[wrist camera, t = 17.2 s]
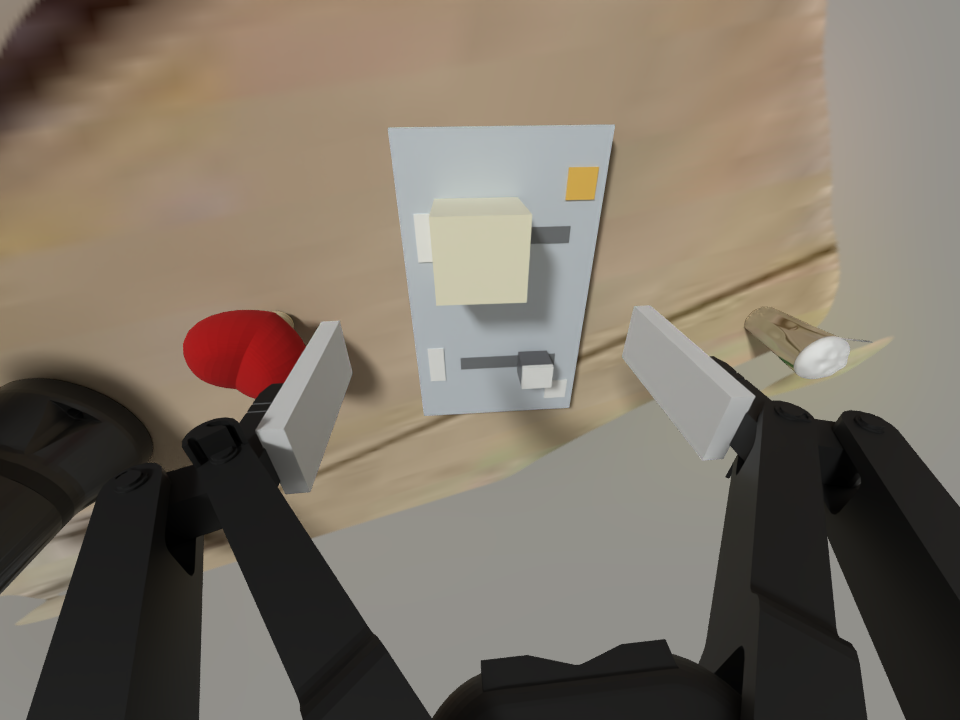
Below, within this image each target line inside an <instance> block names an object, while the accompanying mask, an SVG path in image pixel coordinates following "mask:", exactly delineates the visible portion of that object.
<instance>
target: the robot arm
mask: <svg viewBox="0 0 960 720" xmlns="http://www.w3.org/2000/svg"><path fill="white" fill-rule="evenodd" d="M622 358H623V359H624V361H625V362H626V363H627V364H628V366H629V367H630V368H631V370H632V371H633V372H634V373H635V375H636V376H637V377H638V379H639V380H640V381H641V382H642V384H643V385H644V386H645V388H646V389H647V390H648V391H649V393H650V394H651V395H652V397H653V398H654V399H655V400H656V402H657V403H658V404H659V406H660V407H661V408H662V409H663V411H664V412H665V413H666V415H667V416H668V417H669V418H670V420H671V421H672V422H673V423H674V425H675V426H676V427H677V429H678V430H679V431H680V433H682V435H683V436H684V438H685V439H686V440H687V442H688V443H689V444H690V445H691V447H692V448H693V449H694V451H695V452H696V453H697V454H698V456H699V457H700V458H701V459H702V460H714V459H723V458H724V456H725V454H726V453H727V451H728V449H729V447H730V446H731V447H732V448H733V449H734V450H735V452H736V453H737V454H738V455H737V456H736V458H735V460H734V462H733V464H732V466H731V468H730V469H729V471H728V473H727V475H726V478H730V476H731V482H730V488H729V495H728V502H727V508H726V515H725V521H724V528H723V535H722V541H721V548H720V554H719V560H718V567H717V574H716V580H715V587H714V593H713V600H712V607H711V613H710V619H709V626H708V633H707V639H706V644H705V648H704V651H703V654H702V656H701V659H700V661H699V664H697V663H695V662H693V661H691V660H689V659H686V658H683V657H680V656H677V655H674V654H672V653H671V651H670V649H669V646H668V644H667V642H666V640H665V639H663V640H654V641H645V642H637V643H628V644H621V645H619V646H617V647H615V648H613V649H611V650H609V651H607V652H605V653H603V654H601V655H599V656H597V657H595V658H593V659H591V660H589V661H587V662H585V663H583V664H580V665H573V664H568V663H563V662H558V661H553V660H548V659H544V658H539V657H534V656H529V655H524V656H516V657H507V658H498V659H490V660H481V674H479V675H477V676H475V677H473V678H471V679H469V680H468V681H466V682H465V683H464V684H462V685H460V687H458V688H457V689H456V690H455V691H454V692H453V693H452V694H450V695H449V697H448V698H447V699H446V700H445V701H444V702H443V704H442V705H441V706H440V707H439V709H438V711H437V712H436V714H435V715H434V716H433V718H431V716H430V715H429V714H428V712H427V711H426V709H425V707H424V706H423V704H422V703H421V701H420V700H419V698H418V697H417V695H416V694H415V692H414V691H413V689H412V688H411V686H410V685H409V683H408V681H407V680H406V679H405V677H404V675H403V674H402V672H401V671H400V669H399V668H398V666H397V665H396V663H395V662H394V660H393V659H392V657H391V656H390V654H389V653H388V651H387V650H386V648H385V647H384V645H383V644H382V642H381V641H380V640H379V638H378V637H377V636H376V635H375V634H373V633H372V631H371V630H370V629H369V627H368V626H367V624H366V623H365V621H364V620H363V618H362V616H361V615H360V613H359V612H358V610H357V609H356V607H355V606H354V604H353V603H352V601H351V600H350V598H349V596H348V595H347V593H346V592H345V590H344V589H343V587H342V586H341V584H340V583H339V581H338V580H337V578H336V576H335V575H334V573H333V572H332V570H331V569H330V567H329V566H328V564H327V563H326V561H325V560H324V558H323V556H322V555H321V553H320V552H319V550H318V549H317V548H316V546H315V545H314V543H313V541H312V540H311V538H310V536H309V535H308V533H307V532H306V530H305V529H304V527H303V526H302V524H301V523H300V521H299V520H298V518H297V516H296V515H295V513H294V512H293V510H292V509H291V507H290V506H289V504H288V503H287V501H286V500H285V498H284V496H283V495H282V493H281V492H280V490H279V489H278V485H279V483H280V484H281V486H282V488H283V490H284V492H285V494H294V493H306V492H310V491H311V489H312V486H313V483H314V480H315V477H316V475H317V472H318V469H319V466H320V463H321V461H322V458H323V455H324V452H325V449H326V446H327V444H328V441H329V438H330V435H331V432H332V430H333V427H334V424H335V421H336V418H337V416H338V413H339V410H340V407H341V404H342V402H343V399H344V396H345V393H346V390H347V388H348V385H349V382H350V379H351V376H352V374H353V372H352V368H351V364H350V360H349V356H348V352H347V348H346V344H345V340H344V336H343V332H342V328H341V324H340V321H324V322H321V323H320V325H319V327H318V328H317V330H316V331H315V333H314V335H313V336H312V338H311V340H310V341H309V343H308V345H307V346H306V348H305V350H304V351H303V353H302V354H301V356H300V358H299V359H298V361H297V363H296V364H295V366H294V368H293V369H292V371H291V373H290V374H289V376H288V377H287V379H286V381H285V382H284V383H276V384H271V385H269V386H268V387H267V388H266V389H264V390H263V391H262V392H260V393H259V395H258V396H257V398H256V399H255V401H254V402H253V405H251V407H250V408H249V410H248V413H246V414H245V416H244V417H243V419H242V420H241V421H240V423H238V421H236V420H235V419H233V418H226V417H225V418H217V419H213V420H210V421H207V422H204V423H202V424H201V425H199V426H197V427H195V428H194V429H192V430H191V431H190V432H189V433H188V434H187V435H186V436H185V438H184V439H183V441H182V448H183V449H184V451H185V453H186V454H187V456H188V457H189V459H190V460H191V462H192V463H193V465H191V466H187V467H184V468H180V469H177V470H173V471H170V472H165V471H164V469H163V468H162V467H161V466H160V465H158V464H156V463H147V462H148V461H149V459H150V457H151V455H152V449H153V447H152V441H151V438H150V435H149V434H148V432H147V430H146V429H145V427H144V426H143V424H142V423H141V422H140V421H139V420H138V419H137V418H136V417H135V416H134V415H133V414H132V413H130V412H129V411H128V410H127V409H125V408H124V407H123V406H121V405H120V404H118V403H116V402H115V401H113V400H111V399H110V398H108V397H106V396H104V395H102V394H100V393H97V392H95V391H93V390H90V389H88V388H85V387H82V386H79V385H75V384H72V383H68V382H63V381H58V380H51V379H23V380H17V381H13V382H10V383H8V384H5V385H4V386H2V387H0V594H1V593H2V592H3V591H4V590H5V589H6V588H7V587H8V586H9V584H10V583H11V582H12V581H13V580H14V579H15V578H16V577H17V576H18V575H19V574H20V573H21V572H22V571H23V570H24V569H25V567H26V566H27V565H28V564H29V563H30V562H31V561H32V560H33V559H34V558H35V557H36V556H37V555H38V554H39V553H40V552H41V550H42V549H43V548H44V547H45V546H46V545H47V544H48V543H49V542H50V541H51V540H52V539H53V538H54V537H55V536H56V534H57V533H58V532H59V531H60V530H61V529H62V528H63V527H64V526H65V525H66V524H67V523H68V522H69V521H70V520H71V519H72V518H73V517H74V516H75V515H76V514H77V513H78V512H80V511H81V510H83V509H84V508H86V507H88V506H89V505H91V504H92V503H94V502H95V505H94V509H93V512H92V515H91V518H90V521H89V524H88V527H87V531H86V534H85V537H84V540H83V543H82V546H81V549H80V552H79V556H78V559H77V562H76V565H75V568H74V571H73V574H72V578H71V581H70V584H69V587H68V590H67V593H66V596H65V600H64V603H63V606H62V609H61V612H60V615H59V619H58V622H57V625H56V628H55V631H54V634H53V637H52V640H51V644H50V647H49V650H48V653H47V656H46V660H45V662H44V665H43V669H42V672H41V675H40V678H39V681H38V684H37V687H36V690H35V694H34V697H33V700H32V703H31V707H30V709H29V712H28V716H27V719H26V720H199V696H200V658H201V622H202V587H203V586H202V585H203V550H204V535H205V534H208V533H211V532H214V531H216V530H219V529H222V528H223V530H224V533H225V535H226V537H227V539H228V542H229V544H230V546H231V548H232V551H233V553H234V555H235V557H236V560H237V562H238V564H239V566H240V568H241V571H242V573H243V575H244V578H245V580H246V582H247V584H248V587H249V589H250V591H251V593H252V595H253V598H254V600H255V602H256V605H257V607H258V609H259V611H260V614H261V616H262V618H263V620H264V622H265V624H266V627H267V629H268V631H269V633H270V636H271V638H272V640H273V643H274V645H275V647H276V649H277V652H278V654H279V656H280V658H281V661H282V663H283V665H284V667H285V670H286V672H287V674H288V676H289V678H290V681H291V683H292V685H293V688H294V690H295V692H296V695H297V697H298V700H299V703H300V712H301V715H302V718H303V720H867V713H866V706H865V699H864V692H863V684H862V677H861V670H860V663H859V659H858V655H857V651H856V650H855V648H854V647H853V646H852V644H851V643H850V642H848V641H846V640H844V639H842V638H840V637H839V636H838V634H837V629H836V620H835V610H834V600H833V590H832V580H831V571H830V560H829V550H828V540H827V537H828V539H829V541H830V544H831V546H832V548H833V551H834V553H835V555H836V558H837V560H838V562H839V565H840V567H841V569H842V572H843V574H844V576H845V579H846V581H847V583H848V586H849V588H850V590H851V593H852V595H853V597H854V600H855V602H856V604H857V607H858V609H859V611H860V614H861V616H862V618H863V621H864V623H865V625H866V628H867V630H868V632H869V635H870V637H871V639H872V642H873V644H874V646H875V649H876V651H877V653H878V656H879V658H880V660H881V663H882V665H883V667H884V669H885V672H886V674H887V677H888V679H889V681H890V684H891V686H892V688H893V691H894V693H895V695H896V698H897V700H898V702H899V705H900V707H901V709H902V712H903V714H904V716H905V719H906V720H960V507H959V506H958V504H957V503H956V502H955V501H954V499H953V498H952V497H951V496H950V495H949V493H948V492H947V491H946V489H945V488H944V487H943V486H942V484H941V483H940V482H939V481H938V479H937V478H936V477H935V476H934V474H933V473H932V472H931V471H930V470H929V468H928V467H927V466H926V465H925V463H924V462H923V461H922V460H921V458H920V457H919V456H918V455H917V453H916V452H915V451H914V450H913V448H912V447H911V446H910V445H909V443H908V442H907V441H906V440H905V438H904V437H903V436H902V435H901V434H900V432H899V431H898V430H897V429H896V428H895V427H893V426H892V425H891V424H890V423H888V422H886V421H885V420H883V419H882V418H880V417H878V416H875V415H873V414H870V413H865V412H861V411H852V410H849V411H844V412H843V413H842V414H841V416H840V417H839V418H838V420H837V421H836V422H832V421H825V420H818V419H814V418H813V416H812V415H811V414H810V413H808V412H807V411H806V410H804V409H802V408H801V407H799V406H796V405H794V404H791V403H788V402H783V401H771V400H770V399H769V398H768V397H767V396H765V395H764V394H763V393H762V392H761V391H759V390H758V389H757V388H756V387H755V386H753V385H752V384H751V383H750V382H748V381H747V380H745V379H744V377H743V376H741V375H740V374H739V373H736V371H735V370H734V369H733V368H732V367H731V366H729V365H728V364H727V363H725V362H723V361H721V360H719V359H717V358H715V357H714V356H710V357H709V356H708V355H707V354H706V353H705V352H704V351H703V350H701V349H700V348H699V347H698V346H697V345H696V344H694V343H693V342H692V341H691V340H690V339H689V338H687V337H686V336H685V335H684V334H683V333H682V332H681V331H679V330H678V329H677V328H676V327H675V326H674V325H672V324H671V323H670V322H669V321H668V320H667V319H665V318H664V317H663V316H662V315H661V314H660V313H659V312H657V311H656V310H655V309H654V308H653V307H652V306H650V305H649V306H634V309H633V313H632V317H631V321H630V325H629V330H628V334H627V338H626V342H625V346H624V350H623V355H622Z"/></svg>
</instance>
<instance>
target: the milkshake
mask: <svg viewBox="0 0 960 720" xmlns="http://www.w3.org/2000/svg"><path fill="white" fill-rule="evenodd" d="M745 328H746V329H747V330H748V331H749V332H750V333H751V334H752V335H753V336H754V337H756V338H757V339H758V340H759V341H760V342H761V343H763V344H764V345H765V346H766V347H767V348H769V349H770V350H771V351H772V352H773V353H775V354H776V355H777V356H778V357H779V358H780V359H781V360H782V361H783V362H784V363H785V364H786V365H788V366H789V367H790V368H791V369H792V370H793V371H794V372H795V373H796V374H797V375H799V376H800V377H803V378H807V379H818V378H822V377H827V376H830V375H832V374H834V373H835V372H836V371H838V370H840V369H842V368H843V367H845V365H846V364H847V359H848V356H849V353H850V346H849V344H848V343H847V341H846V340H853V341H861V342H871V341H866V340H856V339H847V338H841V337H838V336H836V335H834V334H831V333H829V332H826V331H824V330H822V329H819V328H817V327H815V326H812V325H810V324H808V323H806V322H804V321H801V320H799V319H797V318H795V317H793V316H790V315H788V314H786V313H784V312H782V311H779V310H777V309H775V308H773V307H760V308H758V309H756V310H754V311H752V313H751V314H750V315H749V316H748V317H747V318H746V322H745ZM871 343H873V342H871Z"/></svg>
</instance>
